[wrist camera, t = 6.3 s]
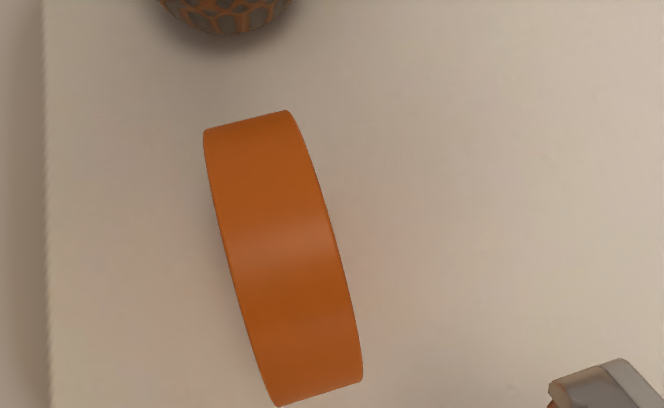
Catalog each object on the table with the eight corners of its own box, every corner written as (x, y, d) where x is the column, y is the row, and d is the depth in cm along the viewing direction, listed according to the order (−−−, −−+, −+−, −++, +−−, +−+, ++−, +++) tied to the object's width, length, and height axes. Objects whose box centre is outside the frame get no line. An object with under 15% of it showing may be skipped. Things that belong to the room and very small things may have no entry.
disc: (296, 167, 22) (294, 53, 13) (352, 366, 20) (395, 392, 11) (222, 186, 21) (168, 82, 12) (274, 390, 20) (254, 437, 11)
